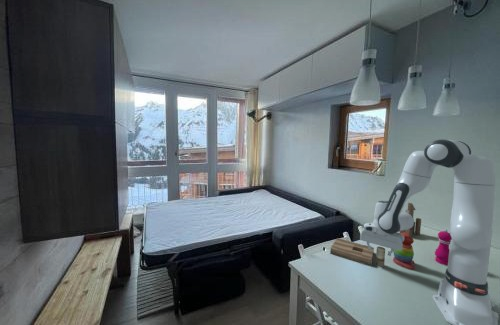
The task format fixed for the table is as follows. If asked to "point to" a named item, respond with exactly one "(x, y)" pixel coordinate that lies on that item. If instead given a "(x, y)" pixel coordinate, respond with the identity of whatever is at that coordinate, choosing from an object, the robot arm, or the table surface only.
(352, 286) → the table surface
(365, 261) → the board
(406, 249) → the stacking bear
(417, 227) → the wooden toy
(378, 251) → the peg
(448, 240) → the pepper mill
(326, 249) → the table surface
